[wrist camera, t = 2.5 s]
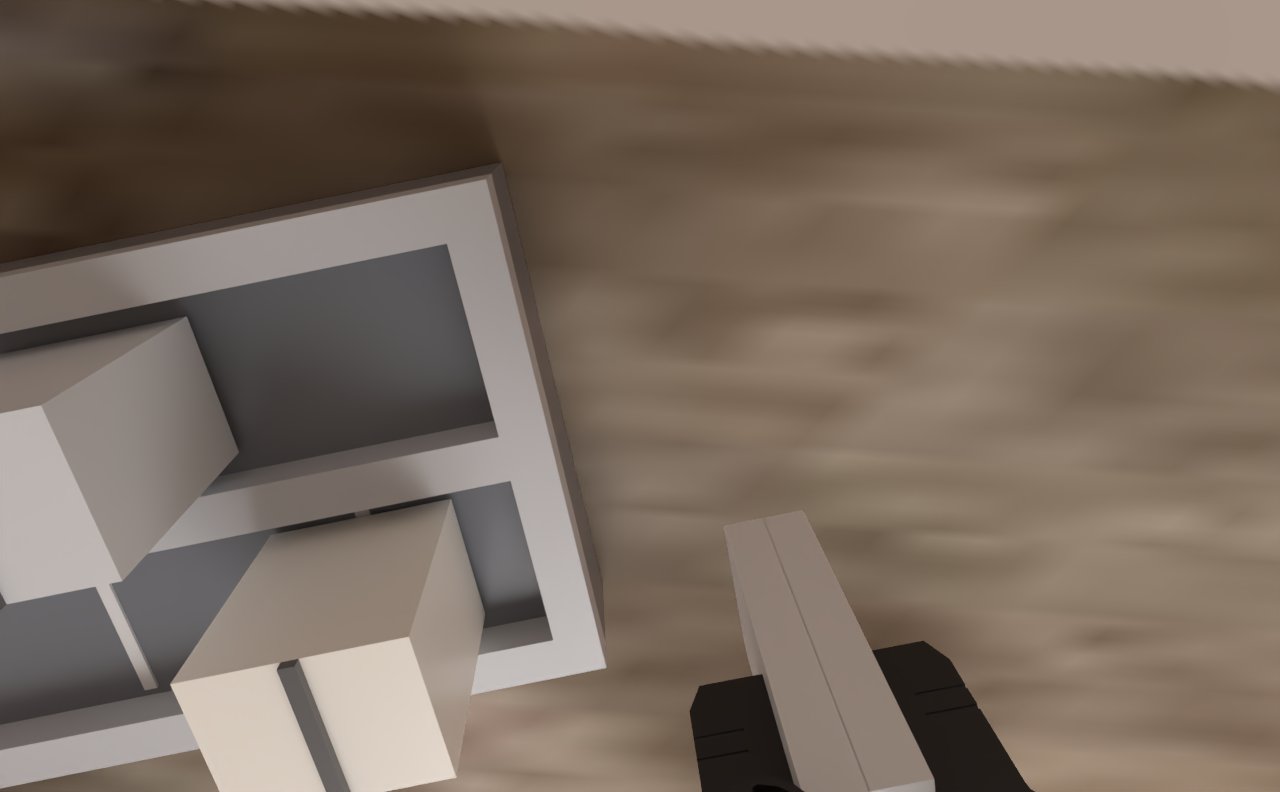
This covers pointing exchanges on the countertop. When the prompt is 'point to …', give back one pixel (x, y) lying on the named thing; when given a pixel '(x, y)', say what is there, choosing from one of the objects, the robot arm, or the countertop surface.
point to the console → (312, 443)
